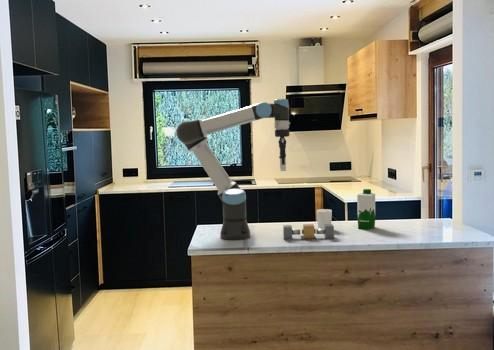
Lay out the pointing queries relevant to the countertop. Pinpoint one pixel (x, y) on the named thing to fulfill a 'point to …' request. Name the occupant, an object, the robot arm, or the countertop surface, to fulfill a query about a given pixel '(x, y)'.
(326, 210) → the white cup
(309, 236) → the coupler
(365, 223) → the milk carton
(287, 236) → the bearing
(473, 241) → the countertop surface
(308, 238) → the pad
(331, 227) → the grey knob with stem
